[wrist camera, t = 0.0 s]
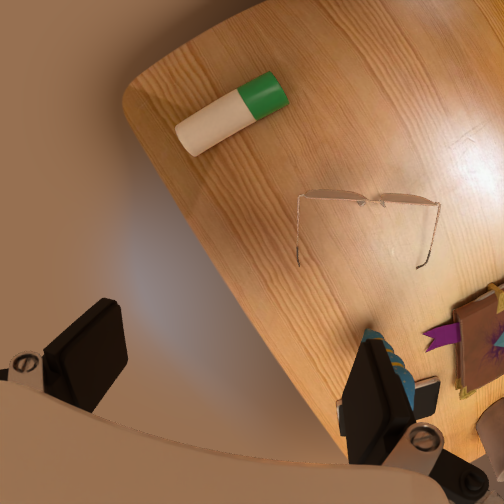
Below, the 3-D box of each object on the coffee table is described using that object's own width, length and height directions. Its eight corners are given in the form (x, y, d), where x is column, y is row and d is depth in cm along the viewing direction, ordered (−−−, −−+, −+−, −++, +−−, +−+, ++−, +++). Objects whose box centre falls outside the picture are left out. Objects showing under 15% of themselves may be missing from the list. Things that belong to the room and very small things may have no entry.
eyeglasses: (428, 195, 27) (445, 205, 23) (417, 266, 30) (430, 283, 26) (297, 187, 29) (297, 196, 25) (295, 263, 32) (295, 282, 28)
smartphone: (336, 405, 35) (441, 379, 32) (335, 398, 36) (438, 374, 33) (340, 437, 37) (434, 415, 34) (340, 432, 39) (432, 409, 35)
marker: (200, 156, 29) (188, 156, 25) (183, 126, 28) (170, 123, 25) (289, 106, 26) (289, 100, 23) (271, 76, 25) (268, 66, 22)
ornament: (365, 354, 33) (390, 452, 19) (335, 333, 33) (352, 436, 19) (395, 325, 32) (438, 418, 18) (367, 302, 31) (405, 397, 17)
